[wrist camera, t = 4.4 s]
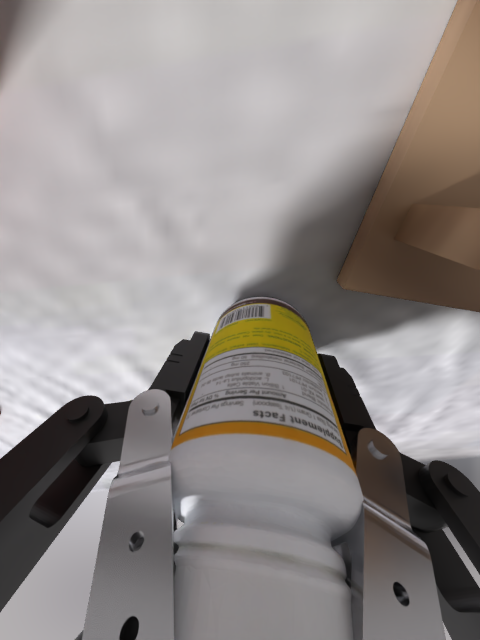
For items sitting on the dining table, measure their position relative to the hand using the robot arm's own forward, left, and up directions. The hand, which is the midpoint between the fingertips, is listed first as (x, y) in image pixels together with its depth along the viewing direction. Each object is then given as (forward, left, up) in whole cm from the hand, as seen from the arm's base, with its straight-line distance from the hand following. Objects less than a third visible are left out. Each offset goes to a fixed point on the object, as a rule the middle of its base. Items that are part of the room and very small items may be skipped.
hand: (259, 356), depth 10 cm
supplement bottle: (0, 0, -2) cm, 2 cm away
